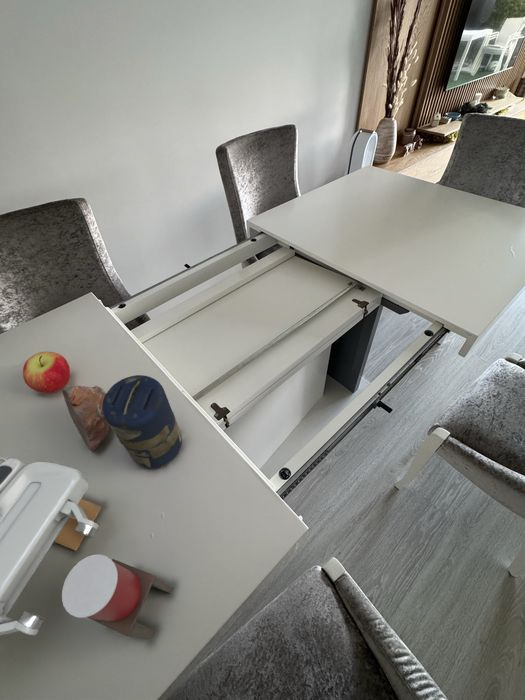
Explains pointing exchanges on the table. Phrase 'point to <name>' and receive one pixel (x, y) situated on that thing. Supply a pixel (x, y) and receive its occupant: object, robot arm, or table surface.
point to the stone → (87, 413)
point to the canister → (143, 420)
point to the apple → (46, 372)
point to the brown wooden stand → (129, 623)
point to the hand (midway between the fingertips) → (68, 574)
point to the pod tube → (100, 590)
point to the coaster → (68, 532)
